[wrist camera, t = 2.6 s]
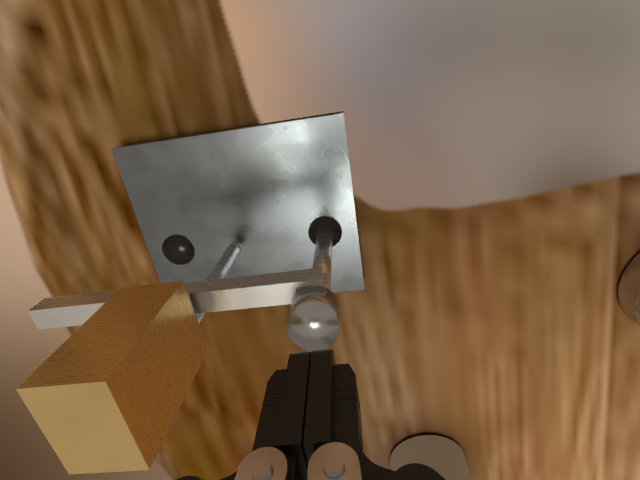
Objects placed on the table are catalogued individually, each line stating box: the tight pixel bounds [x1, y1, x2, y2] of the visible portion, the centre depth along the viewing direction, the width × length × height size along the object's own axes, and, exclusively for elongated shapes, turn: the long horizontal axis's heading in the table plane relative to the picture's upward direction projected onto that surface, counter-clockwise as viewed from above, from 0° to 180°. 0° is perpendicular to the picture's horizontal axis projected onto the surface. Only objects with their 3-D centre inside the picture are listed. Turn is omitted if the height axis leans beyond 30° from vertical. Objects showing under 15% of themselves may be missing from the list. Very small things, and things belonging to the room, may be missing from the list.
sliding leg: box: [16, 242, 241, 474], centre depth 20 cm, size 3×4×18 cm
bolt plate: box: [28, 112, 365, 350], centre depth 24 cm, size 18×14×14 cm
